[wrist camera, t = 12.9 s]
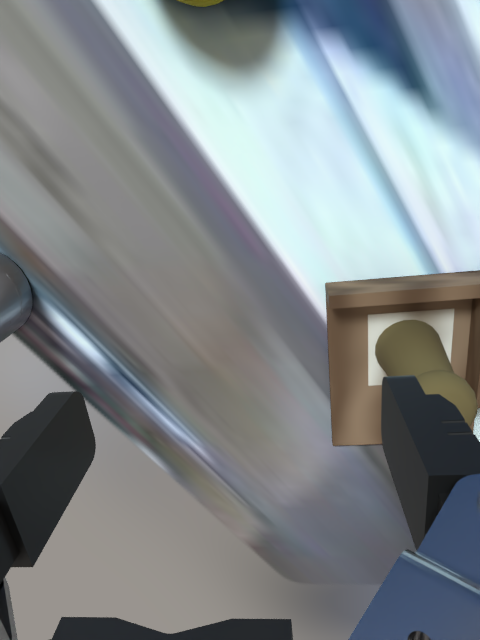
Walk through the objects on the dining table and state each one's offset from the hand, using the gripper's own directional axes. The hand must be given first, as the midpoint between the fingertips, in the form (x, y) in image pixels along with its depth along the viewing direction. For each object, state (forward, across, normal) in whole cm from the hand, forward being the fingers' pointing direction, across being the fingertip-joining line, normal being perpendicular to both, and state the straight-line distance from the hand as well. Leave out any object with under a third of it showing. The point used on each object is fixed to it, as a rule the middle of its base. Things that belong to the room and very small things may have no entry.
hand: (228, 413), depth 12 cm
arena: (+30, -12, +15) cm, 36 cm away
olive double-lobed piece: (+29, -13, +13) cm, 35 cm away
